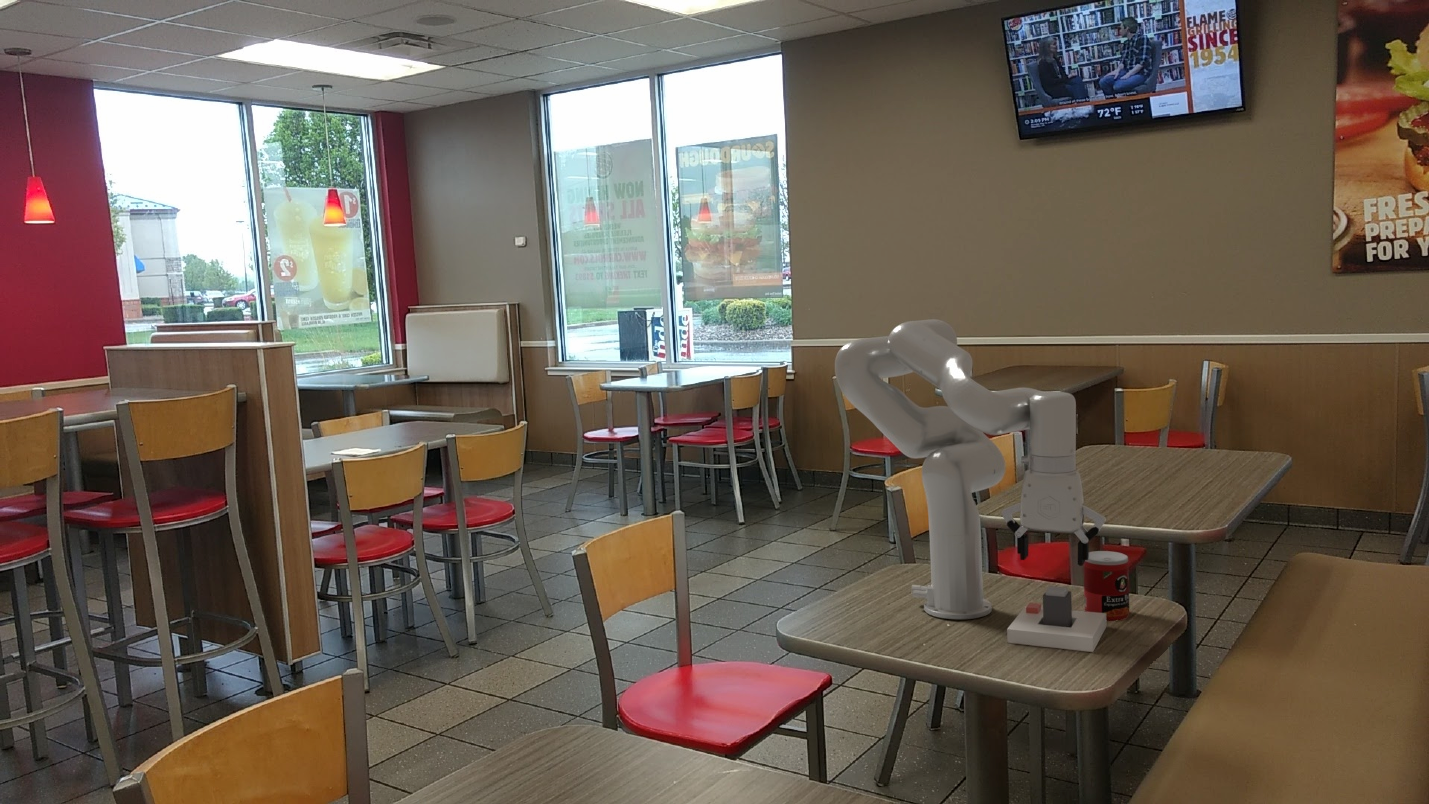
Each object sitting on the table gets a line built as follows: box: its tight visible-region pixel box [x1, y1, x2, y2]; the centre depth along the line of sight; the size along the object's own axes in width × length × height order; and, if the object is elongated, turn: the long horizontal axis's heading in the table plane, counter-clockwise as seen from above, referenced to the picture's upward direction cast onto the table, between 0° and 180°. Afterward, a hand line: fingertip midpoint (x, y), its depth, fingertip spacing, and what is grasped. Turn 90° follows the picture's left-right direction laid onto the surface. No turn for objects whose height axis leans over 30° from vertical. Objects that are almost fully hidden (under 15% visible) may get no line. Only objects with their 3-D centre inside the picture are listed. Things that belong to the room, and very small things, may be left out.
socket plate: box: [1006, 602, 1107, 653], centre depth 181 cm, size 14×14×3 cm
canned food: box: [1082, 550, 1130, 622], centre depth 189 cm, size 8×8×11 cm
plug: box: [1042, 585, 1073, 628], centre depth 180 cm, size 4×4×8 cm
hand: (1052, 560), depth 180 cm, fingers open, 9 cm apart
